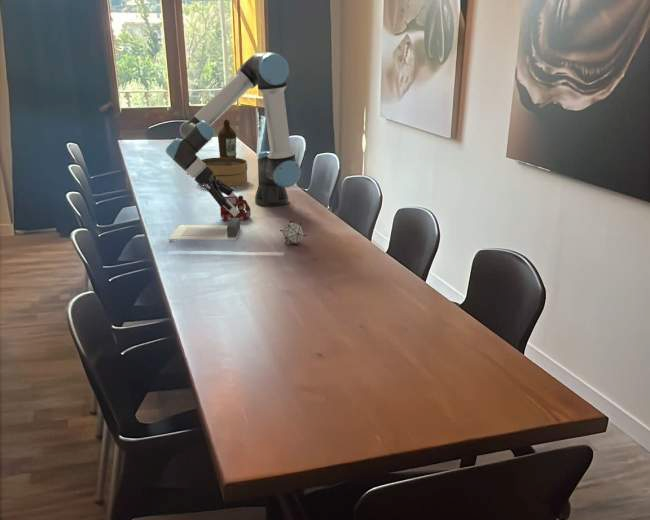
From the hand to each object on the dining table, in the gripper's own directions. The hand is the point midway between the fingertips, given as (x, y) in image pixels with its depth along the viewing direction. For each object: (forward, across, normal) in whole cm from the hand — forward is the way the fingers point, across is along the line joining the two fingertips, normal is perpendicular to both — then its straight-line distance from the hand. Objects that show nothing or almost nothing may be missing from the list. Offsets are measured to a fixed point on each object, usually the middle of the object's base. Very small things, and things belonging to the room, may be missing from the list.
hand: (239, 209), depth 250 cm
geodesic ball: (+20, +28, +13) cm, 37 cm away
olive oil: (-13, -123, -20) cm, 125 cm away
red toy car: (+2, 0, -5) cm, 5 cm away
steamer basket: (-9, -69, -16) cm, 72 cm away
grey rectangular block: (+3, +19, -2) cm, 19 cm away
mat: (-4, +19, -10) cm, 22 cm away
